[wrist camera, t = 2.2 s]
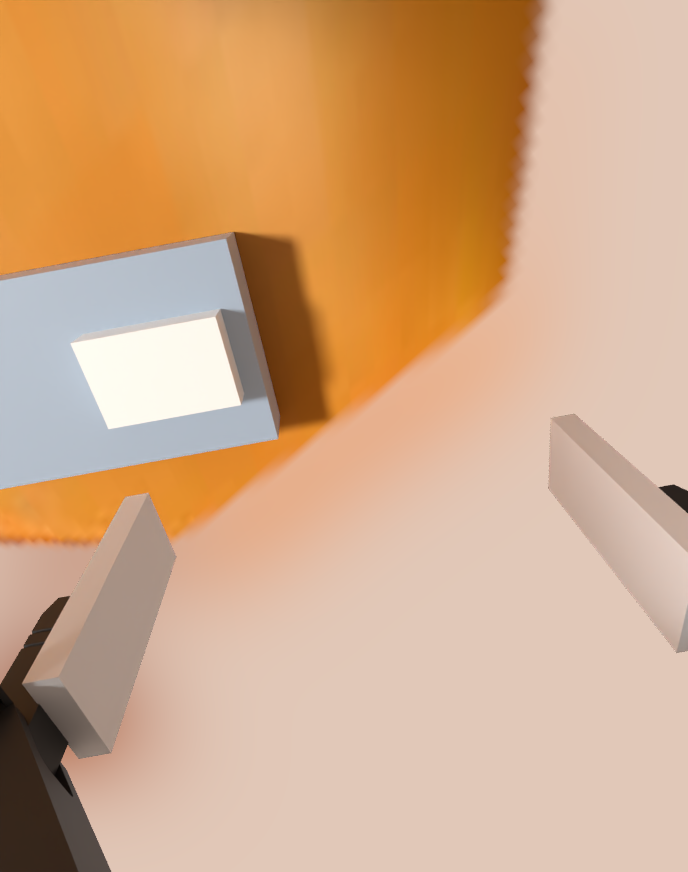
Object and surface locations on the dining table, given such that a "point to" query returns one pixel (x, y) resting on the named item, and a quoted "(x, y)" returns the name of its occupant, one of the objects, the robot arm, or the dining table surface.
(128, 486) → the dining table surface
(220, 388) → the white rectangular block
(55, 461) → the block
